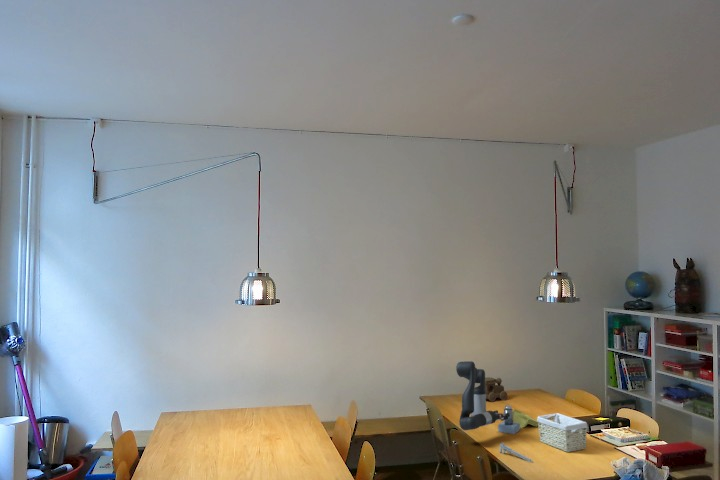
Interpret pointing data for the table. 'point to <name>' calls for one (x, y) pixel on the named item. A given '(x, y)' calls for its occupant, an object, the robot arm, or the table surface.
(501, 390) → the wooden toy train
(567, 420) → the storage basket
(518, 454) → the caliper
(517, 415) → the plastic component
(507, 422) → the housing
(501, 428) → the stand
